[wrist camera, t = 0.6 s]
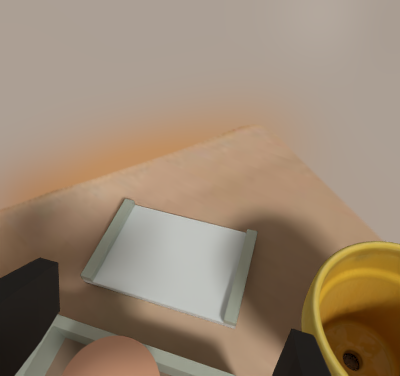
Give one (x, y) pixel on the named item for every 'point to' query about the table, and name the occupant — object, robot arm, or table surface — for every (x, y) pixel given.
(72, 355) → the green square tray
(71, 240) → the table surface
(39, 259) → the robot arm
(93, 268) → the glass lid
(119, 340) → the tan jar
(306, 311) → the plant pot
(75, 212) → the table surface
